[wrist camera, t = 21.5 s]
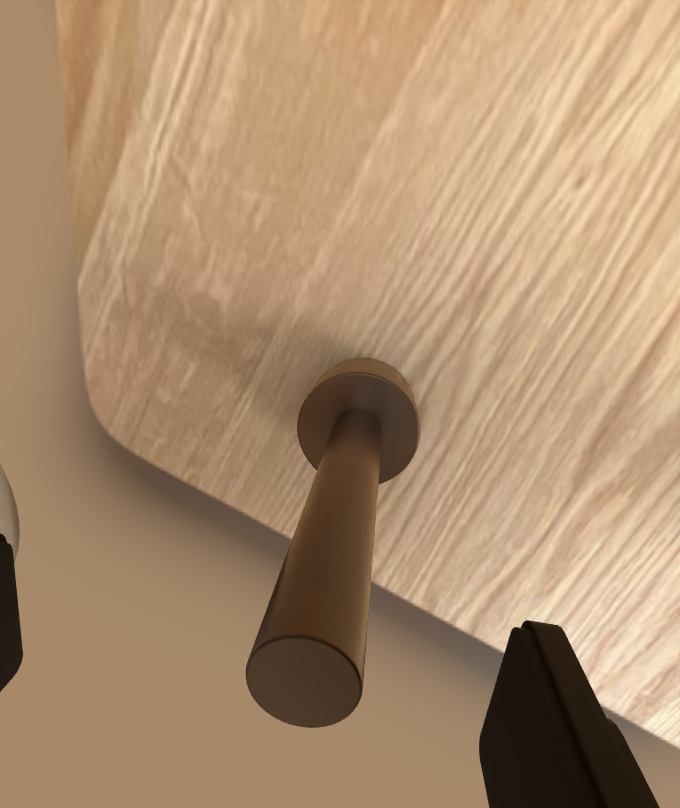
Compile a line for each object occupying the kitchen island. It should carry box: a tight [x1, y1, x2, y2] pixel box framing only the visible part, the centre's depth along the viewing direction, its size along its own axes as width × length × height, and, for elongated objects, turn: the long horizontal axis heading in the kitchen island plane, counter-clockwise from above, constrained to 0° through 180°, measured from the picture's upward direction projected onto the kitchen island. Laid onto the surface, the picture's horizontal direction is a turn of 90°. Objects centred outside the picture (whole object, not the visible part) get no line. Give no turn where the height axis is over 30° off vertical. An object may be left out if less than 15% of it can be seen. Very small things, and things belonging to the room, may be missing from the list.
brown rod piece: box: [246, 358, 420, 728], centre depth 15 cm, size 5×5×15 cm
